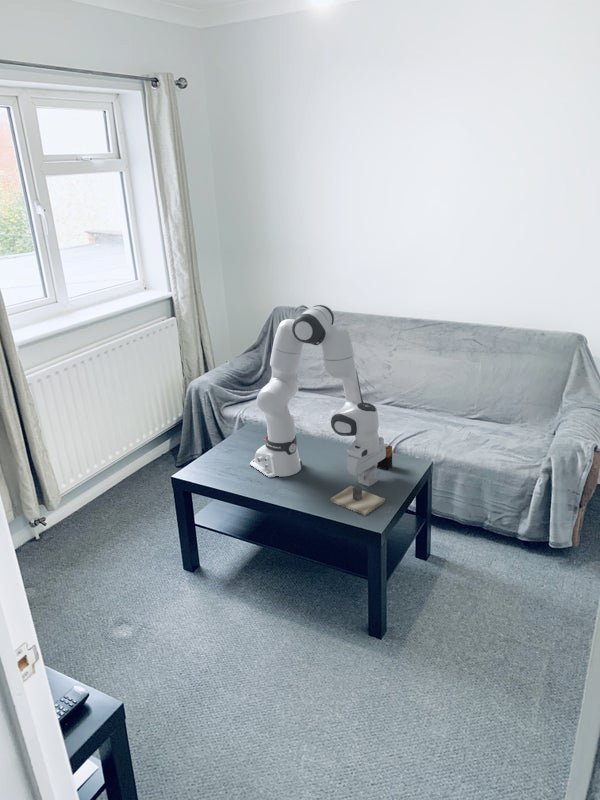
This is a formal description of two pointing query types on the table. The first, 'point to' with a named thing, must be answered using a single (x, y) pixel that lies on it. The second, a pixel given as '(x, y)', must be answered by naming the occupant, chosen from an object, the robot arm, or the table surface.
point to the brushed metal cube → (369, 476)
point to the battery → (386, 459)
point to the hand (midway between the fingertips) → (367, 476)
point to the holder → (357, 500)
